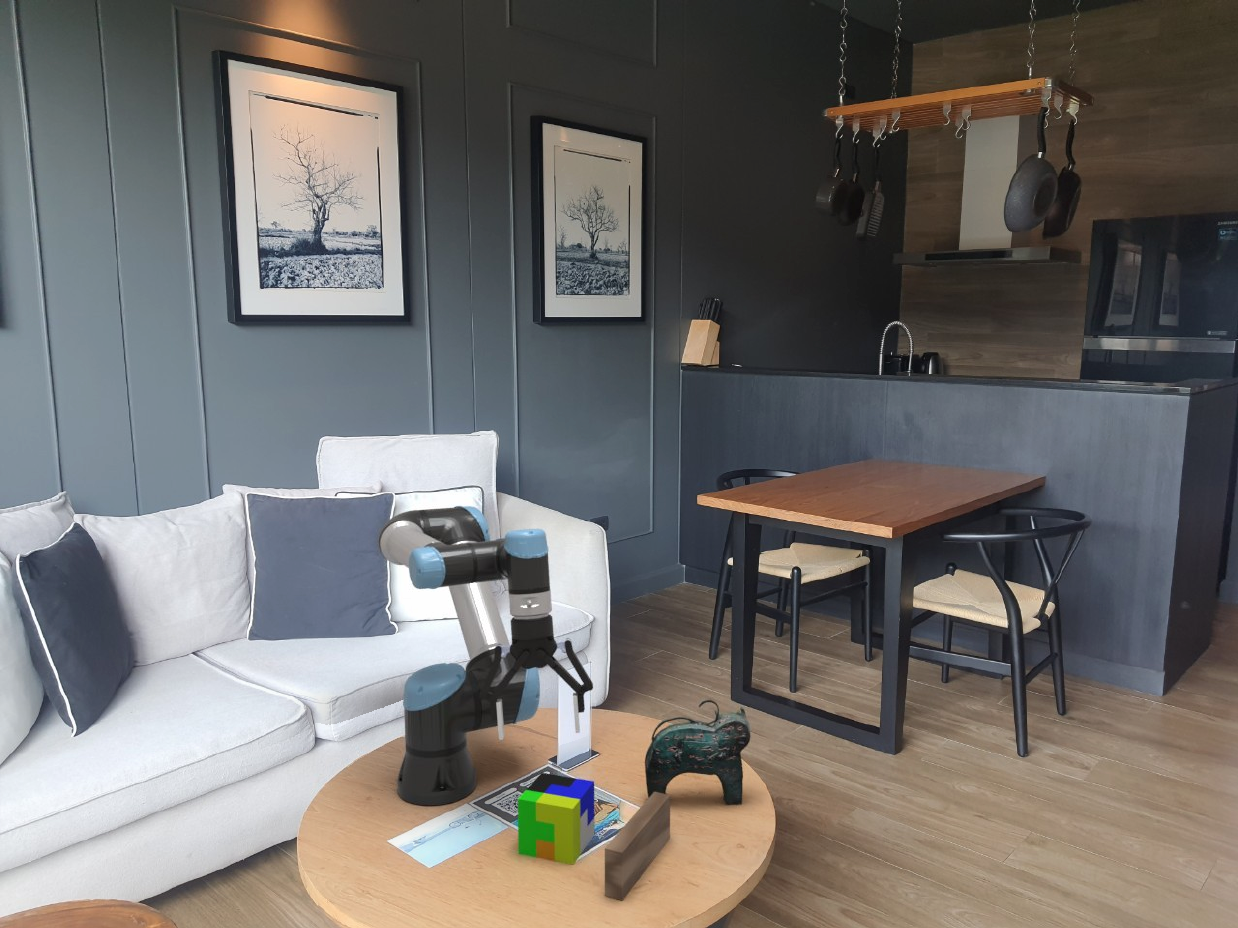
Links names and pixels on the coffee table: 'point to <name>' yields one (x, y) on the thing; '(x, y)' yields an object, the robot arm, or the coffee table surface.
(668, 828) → the walnut board
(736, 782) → the ceramic cat
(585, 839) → the puzzle toy
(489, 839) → the coffee table surface
